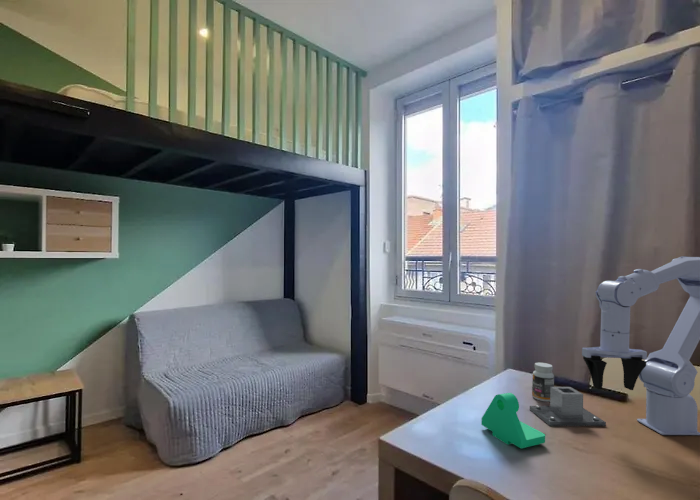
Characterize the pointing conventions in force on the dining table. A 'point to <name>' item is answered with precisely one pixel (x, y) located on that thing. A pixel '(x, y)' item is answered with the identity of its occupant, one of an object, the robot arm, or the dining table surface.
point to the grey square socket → (566, 402)
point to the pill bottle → (542, 381)
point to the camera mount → (510, 423)
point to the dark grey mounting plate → (556, 420)
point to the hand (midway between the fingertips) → (613, 388)
